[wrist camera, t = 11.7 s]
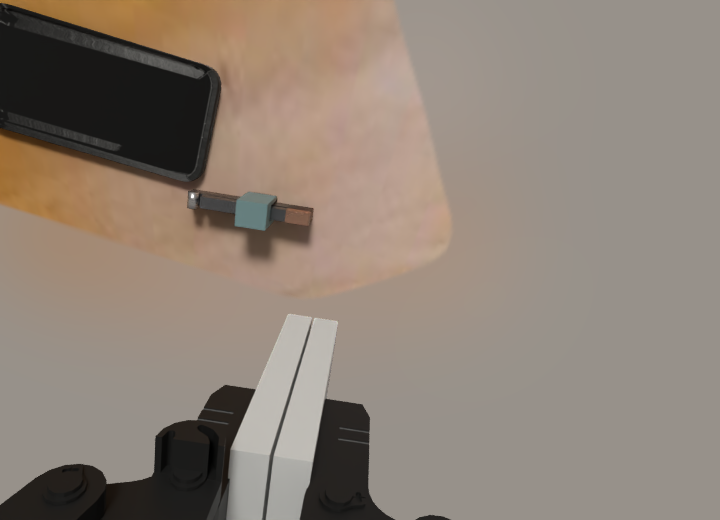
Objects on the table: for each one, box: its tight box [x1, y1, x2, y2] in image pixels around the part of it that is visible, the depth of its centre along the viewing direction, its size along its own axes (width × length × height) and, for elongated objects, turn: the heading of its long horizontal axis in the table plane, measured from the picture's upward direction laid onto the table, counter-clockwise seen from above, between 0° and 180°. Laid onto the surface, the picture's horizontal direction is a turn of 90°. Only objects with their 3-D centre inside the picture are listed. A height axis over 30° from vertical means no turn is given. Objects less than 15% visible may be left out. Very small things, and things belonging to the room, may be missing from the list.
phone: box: [0, 3, 221, 182], centre depth 34 cm, size 8×1×15 cm
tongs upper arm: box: [187, 191, 311, 226], centre depth 34 cm, size 8×1×1 cm, turn 81°
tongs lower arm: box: [191, 189, 313, 222], centre depth 35 cm, size 8×1×1 cm, turn 81°
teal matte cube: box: [235, 192, 277, 231], centre depth 34 cm, size 2×2×3 cm
